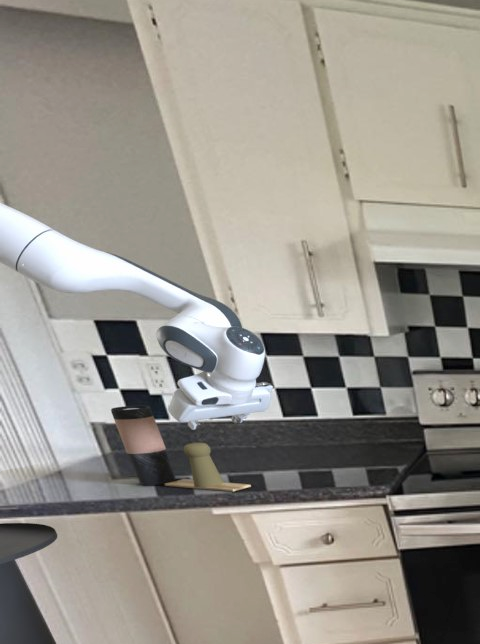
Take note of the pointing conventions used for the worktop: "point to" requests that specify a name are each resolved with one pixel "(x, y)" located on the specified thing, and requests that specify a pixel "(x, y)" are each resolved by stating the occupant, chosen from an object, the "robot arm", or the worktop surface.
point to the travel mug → (143, 444)
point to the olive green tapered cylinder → (202, 465)
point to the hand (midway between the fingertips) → (215, 424)
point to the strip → (221, 487)
